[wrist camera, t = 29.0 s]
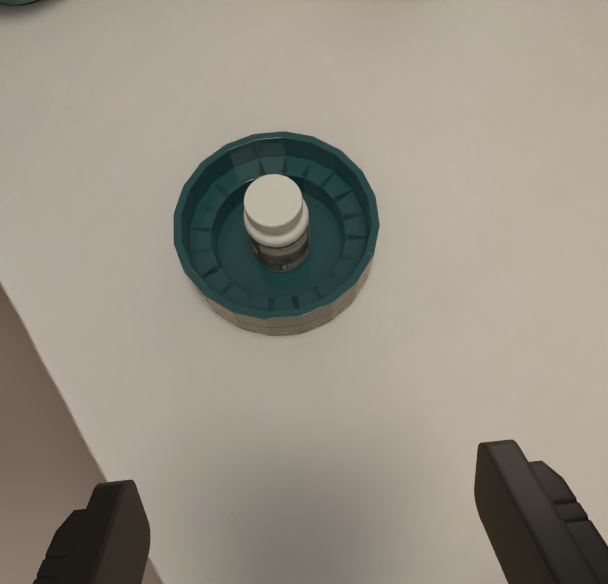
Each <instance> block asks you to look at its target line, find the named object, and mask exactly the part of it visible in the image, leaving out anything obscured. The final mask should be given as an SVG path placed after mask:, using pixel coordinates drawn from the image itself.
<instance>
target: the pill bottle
mask: <svg viewBox="0 0 608 584" xmlns="http://www.w3.org/2000/svg"><path fill="white" fill-rule="evenodd" d="M244 208H245V209H244V214H243V218H244V225H245V228H246V230H247V233H248V236H249V239H250V242H251V245H252V248H253V251H254V254H255V256H256V258H257V260H258V261H259V263H260V264H261V265H262V266H264V267H265V268H267V269H269V270H271V271H274V272H289V271H292V270H294V269H296V268H298V267H299V266H300V265H301V264H303V263H304V261H305V260H306V258H307V257H308V254H309V251H310V230H309V211H308V208H307V205H306V203H305V201H304V199H303V198H302V194H301V191H300V189H299V187H298V186H297V184H296V183H295V182H294V181H293V180H291V179H290V178H288V177H286V176H283V175H278V174H270V175H265V176H262V177H260V178H258V179H256V180H255V181H254V182H253V183H251V185H250V186H249V187H248V189H247V191H246V193H245V196H244Z"/></svg>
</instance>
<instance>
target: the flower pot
mask: <svg viewBox="0 0 608 584" xmlns="http://www.w3.org/2000/svg"><path fill="white" fill-rule="evenodd" d="M33 1H36V0H0V3H2V4H8V5H18V4H26V3H30V2H33Z"/></svg>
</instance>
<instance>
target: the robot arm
mask: <svg viewBox="0 0 608 584" xmlns="http://www.w3.org/2000/svg"><path fill="white" fill-rule="evenodd" d="M474 495H475V502H476V506H477V510H478V513H479V516H480V519H481V521H482V524H483V526H484V528H485V531H486V533H487V535H488V538H489V540H490V542H491V544H492V547H493V549H494V551H495V554H496V556H497V558H498V561H499V563H500V565H501V568H502V570H503V572H504V575H505V577H506V579H507V582H508V584H608V546H607V544H606V543H605V541H604V540H603V538H602V537H601V535H600V534H599V532H598V531H597V529H596V528H595V526H594V525H593V523H592V522H591V520H589V519H588V515H587V514H586V512H585V511H584V509H583V508H582V506H581V505H580V503H577V500H576V497H575V496H574V494H573V493H572V491H571V490H570V488H569V486H568V485H567V483H566V482H565V480H564V479H563V477H561V476H560V475H559V474H558V473H556V472H555V471H554V470H553V469H551V468H550V467H549V466H548V465H546V464H545V463H544V462H543V461H534V462H528V461H527V459H526V457H525V456H524V454H523V452H522V451H521V449H520V447H519V446H518V444H517V443H516V442H515V441H514V440H503V441H493V442H484V443H480V444H479V445H478V451H477V462H476V474H475V485H474ZM149 549H150V526H149V522H148V519H147V516H146V513H145V510H144V507H143V504H142V502H141V499H140V496H139V493H138V490H137V487H136V484H135V482H134V481H133V480H123V481H114V482H105V483H99V484H97V485H96V487H95V488H94V490H93V493H92V496H91V498H90V501H89V503H88V505H87V508H86V509H82V510H74V511H73V512H72V513H71V514H70V516H69V517H68V518H67V519H66V520H65V521H64V523H63V524H62V525H61V526H60V527H59V529H58V530H57V531H56V533H55V535H54V537H53V539H52V541H51V544H50V546H49V548H48V550H47V553H46V558H45V560H43V562H42V564H41V566H40V568H39V571H38V573H37V579H36V580H34V582H33V584H141V583H142V579H143V574H144V571H145V566H146V562H147V558H148V554H149Z"/></svg>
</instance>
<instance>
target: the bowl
mask: <svg viewBox="0 0 608 584" xmlns="http://www.w3.org/2000/svg"><path fill="white" fill-rule="evenodd" d="M270 174H278V175H283V176H286V177H288V178H290V179H291V180H293V181H294V182H295V183H296V184H297V186H298V187H299V189H300V191H301V194H302V198H303V199H304V201H305V203H306V205H307V208H308V211H309V230H310V251H309V254H308V257H307V258H306V260H305V261H304V263H303V264H301V265H300V266H299V267H298V268H296V269H294V270H292V271H289V272H274V271H271V270H269V269H267V268H265V267H264V266H262V265H261V264H260V263H259V261H258V260H257V258H256V256H255V254H254V251H253V248H252V245H251V242H250V239H249V236H248V233H247V230H246V228H245V225H244V218H243V214H244V209H245V208H244V196H245V193H246V191H247V189H248V187H249V186H250V185H251V183H253V182H254V181H255V180H256V179H258V178H260V177H262V176H265V175H270ZM378 231H379V218H378V211H377V204H376V197H375V194H374V193H373V191H372V189H371V187H370V185H369V183H368V181H367V179H366V177H365V175H364V174H363V172H362V170H361V169H360V168H359V167H358V166H357V165H356V164H355V163H354V162H352V161H351V160H350V159H349V158H348V157H347V156H346V155H345V154H344V153H343V152H342V151H341V150H339V149H337V148H335V147H333V146H331V145H329V144H327V143H325V142H323V141H321V140H319V139H317V138H315V137H312V136H307V135H301V134H296V133H290V132H273V133H261V134H253V135H250V136H248V137H245V138H242V139H240V140H237V141H234V142H232V143H229V144H226V145H224V146H223V147H222V148H220V149H219V150H218V151H216V152H215V153H214V154H212V155H211V156H210V157H208V158H207V159H205V160H204V161H203V162H202V163H201V164H200V165H199V166H198V168H197V169H196V170H195V171H194V173H193V174H192V175H191V177H190V178H189V179H188V181H187V182H186V183H185V185H184V187H183V189H182V192H181V195H180V198H179V200H178V203H177V206H176V209H175V212H174V246H175V248H176V251H177V254H178V256H179V259H180V262H181V264H182V267H183V270H184V272H185V274H186V275H187V276H188V278H189V279H190V280H191V282H192V283H193V284H194V286H195V287H196V289H197V290H198V291H199V293H200V294H201V295H202V296H203V297H204V299H205V300H206V301H207V302H208V303H209V304H210V306H211V307H212V308H213V309H214V310H215V312H216V313H217V314H219V315H220V316H222V317H224V318H225V319H227V320H229V321H230V322H232V323H234V324H235V325H237V326H239V327H240V328H243V329H246V330H251V331H255V332H259V333H264V334H268V335H280V334H291V333H302V332H305V331H307V330H309V329H312V328H314V327H317V326H319V325H321V324H324V323H326V322H329V321H330V320H332V319H333V318H334V317H335V316H337V315H338V314H339V313H340V312H341V311H342V310H344V309H345V308H346V307H347V306H348V305H349V304H351V303H352V301H353V300H354V299H355V297H356V295H357V294H358V292H359V290H360V289H361V287H362V285H363V284H364V282H365V280H366V279H367V276H368V273H369V269H370V266H371V262H372V258H373V255H374V250H375V245H376V240H377V236H378Z"/></svg>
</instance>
